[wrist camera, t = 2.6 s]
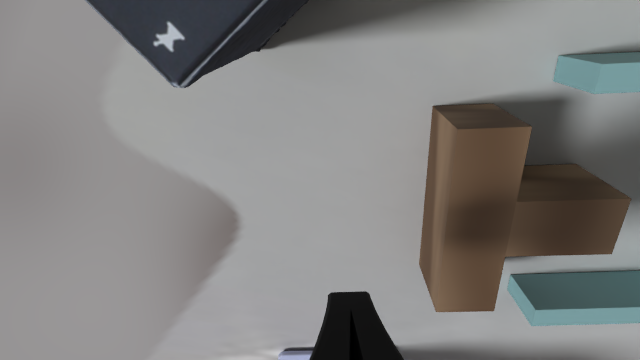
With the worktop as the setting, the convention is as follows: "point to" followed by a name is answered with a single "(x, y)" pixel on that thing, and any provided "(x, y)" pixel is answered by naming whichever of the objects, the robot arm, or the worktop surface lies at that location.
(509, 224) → the t block
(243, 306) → the worktop surface
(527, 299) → the jig
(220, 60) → the small box
